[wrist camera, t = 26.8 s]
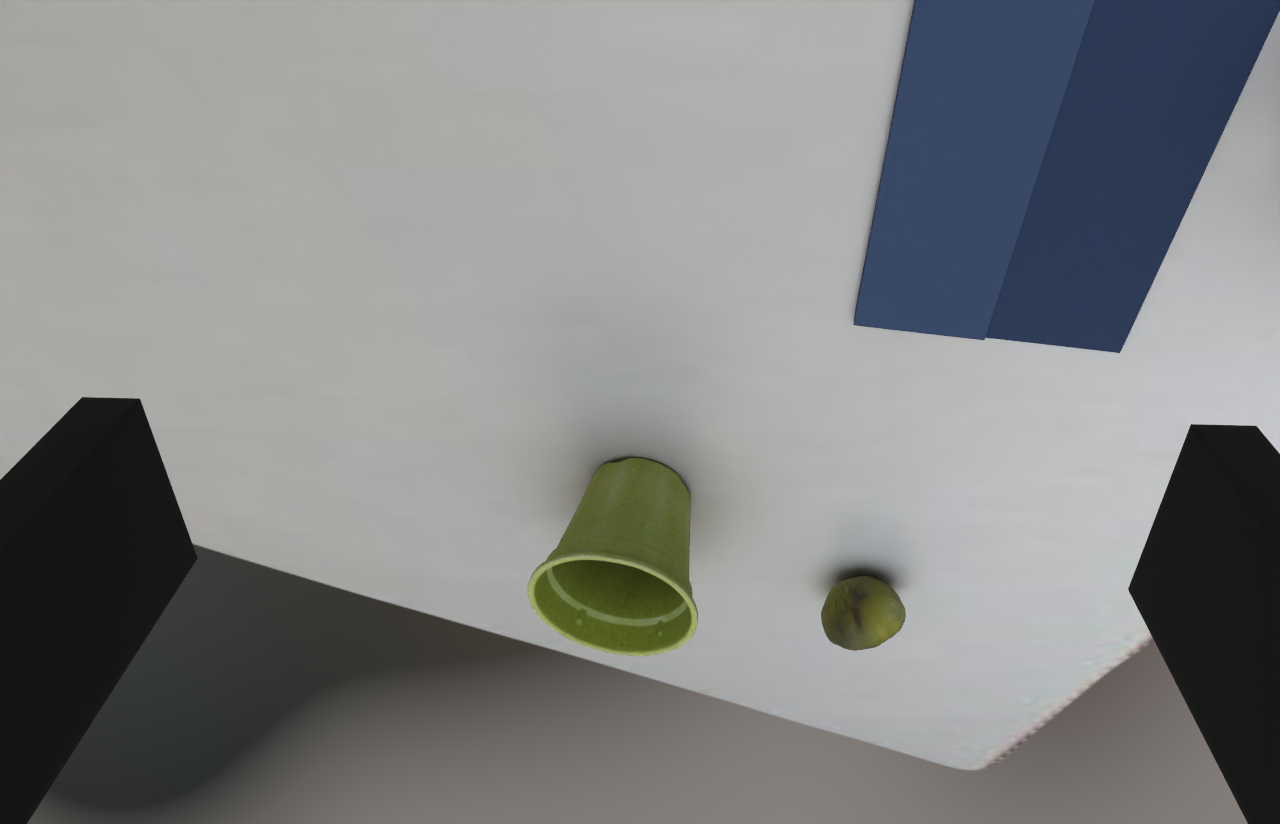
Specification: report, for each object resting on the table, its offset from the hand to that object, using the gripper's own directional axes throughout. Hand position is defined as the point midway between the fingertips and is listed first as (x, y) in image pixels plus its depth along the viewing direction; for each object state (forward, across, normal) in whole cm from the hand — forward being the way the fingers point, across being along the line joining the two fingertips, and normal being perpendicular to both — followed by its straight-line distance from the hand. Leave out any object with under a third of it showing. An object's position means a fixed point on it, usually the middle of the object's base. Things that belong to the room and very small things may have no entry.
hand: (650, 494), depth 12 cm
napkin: (+28, +14, -4) cm, 32 cm away
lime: (+35, +12, -35) cm, 51 cm away
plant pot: (+36, -2, -28) cm, 46 cm away
